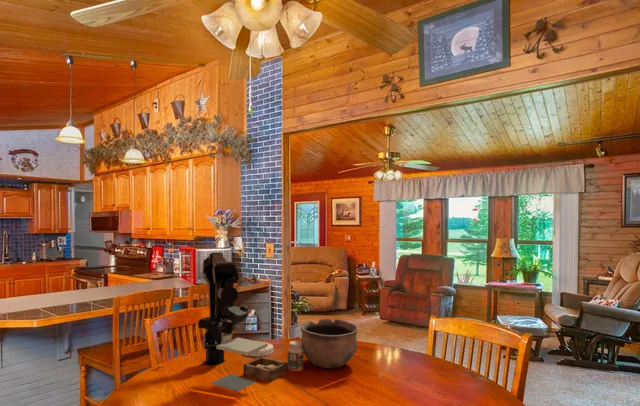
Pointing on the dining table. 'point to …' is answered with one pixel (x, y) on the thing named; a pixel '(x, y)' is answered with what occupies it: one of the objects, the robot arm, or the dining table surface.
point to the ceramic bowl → (329, 342)
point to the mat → (234, 382)
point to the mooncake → (264, 351)
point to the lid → (240, 345)
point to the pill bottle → (295, 356)
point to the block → (270, 367)
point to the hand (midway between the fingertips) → (222, 343)
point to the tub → (264, 373)
